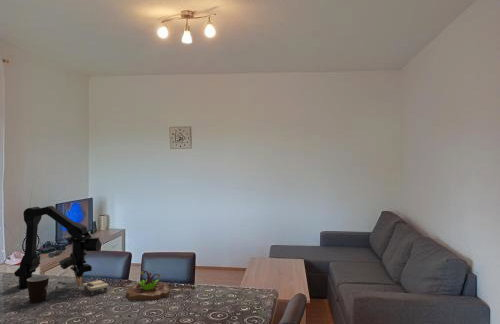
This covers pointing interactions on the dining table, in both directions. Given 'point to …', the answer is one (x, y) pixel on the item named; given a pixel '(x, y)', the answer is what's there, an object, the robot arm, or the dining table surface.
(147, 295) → the plant
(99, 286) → the level stand
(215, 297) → the dining table surface
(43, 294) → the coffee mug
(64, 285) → the cam capstan
